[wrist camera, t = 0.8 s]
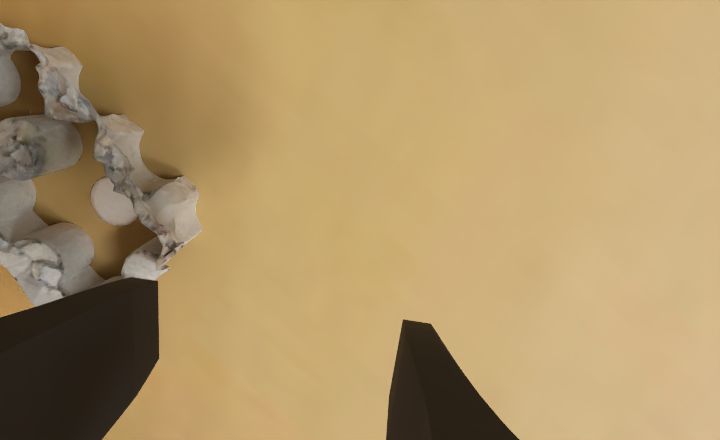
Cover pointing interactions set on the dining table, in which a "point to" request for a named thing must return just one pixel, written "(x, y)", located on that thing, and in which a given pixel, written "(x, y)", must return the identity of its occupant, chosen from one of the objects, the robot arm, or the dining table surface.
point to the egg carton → (108, 195)
